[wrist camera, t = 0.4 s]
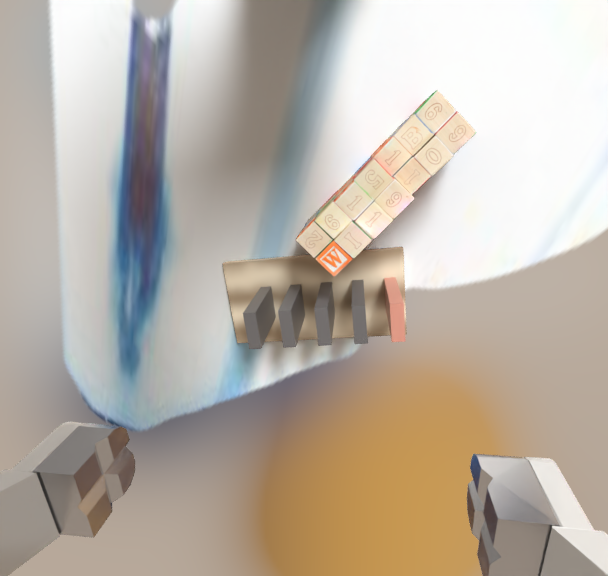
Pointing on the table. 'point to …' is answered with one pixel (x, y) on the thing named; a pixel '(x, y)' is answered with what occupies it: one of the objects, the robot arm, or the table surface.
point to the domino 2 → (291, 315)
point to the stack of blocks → (385, 184)
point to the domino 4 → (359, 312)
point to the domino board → (316, 289)
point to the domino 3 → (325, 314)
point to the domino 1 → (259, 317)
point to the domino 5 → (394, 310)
